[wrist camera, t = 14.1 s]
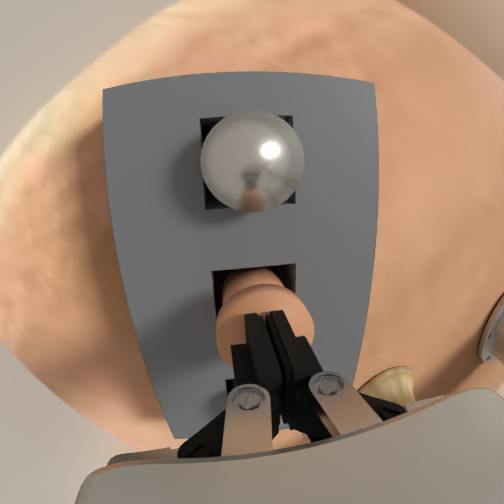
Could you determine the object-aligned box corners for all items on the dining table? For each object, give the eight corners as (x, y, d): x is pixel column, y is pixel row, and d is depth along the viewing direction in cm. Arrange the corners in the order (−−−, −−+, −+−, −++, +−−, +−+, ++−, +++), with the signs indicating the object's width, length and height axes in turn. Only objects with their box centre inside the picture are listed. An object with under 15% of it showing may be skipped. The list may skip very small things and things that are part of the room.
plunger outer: (277, 124, 16) (302, 110, 11) (280, 195, 17) (305, 209, 12) (202, 127, 15) (197, 112, 10) (206, 200, 17) (204, 216, 12)
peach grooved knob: (287, 252, 16) (317, 290, 12) (287, 318, 18) (311, 368, 13) (211, 259, 16) (210, 301, 11) (218, 325, 17) (222, 380, 13)
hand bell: (413, 352, 24) (502, 457, 9) (412, 395, 27) (477, 484, 12) (343, 391, 24) (412, 523, 9) (353, 427, 27) (405, 531, 12)
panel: (343, 95, 16) (374, 83, 12) (329, 385, 24) (344, 415, 20) (125, 103, 14) (102, 89, 11) (176, 404, 22) (174, 438, 18)
